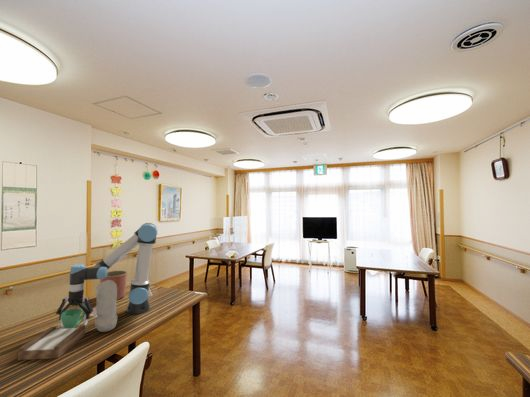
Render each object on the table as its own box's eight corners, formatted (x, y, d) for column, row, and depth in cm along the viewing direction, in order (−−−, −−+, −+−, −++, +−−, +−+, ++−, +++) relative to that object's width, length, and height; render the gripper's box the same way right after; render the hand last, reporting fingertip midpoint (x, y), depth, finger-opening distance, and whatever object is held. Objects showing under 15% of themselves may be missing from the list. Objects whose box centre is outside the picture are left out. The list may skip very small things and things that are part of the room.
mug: (68, 333, 143) (69, 316, 144) (55, 331, 145) (56, 314, 146) (91, 322, 158) (92, 306, 158) (78, 320, 160) (79, 305, 160)
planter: (106, 293, 208) (108, 270, 209) (129, 293, 210) (131, 270, 211) (93, 302, 190) (95, 276, 190) (119, 302, 192) (120, 276, 192)
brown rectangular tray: (84, 334, 142) (85, 325, 143) (58, 357, 121) (59, 346, 121) (50, 336, 140) (51, 326, 140) (17, 360, 118) (18, 348, 118)
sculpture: (123, 326, 154) (126, 278, 155) (109, 335, 142) (112, 284, 144) (101, 324, 156) (104, 277, 157) (86, 333, 144) (89, 282, 145)
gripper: (100, 287, 158) (98, 321, 157) (58, 288, 154) (56, 322, 153) (94, 291, 151) (92, 326, 150) (50, 292, 147) (47, 328, 146)
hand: (74, 324), depth 151 cm, fingers open, 12 cm apart
